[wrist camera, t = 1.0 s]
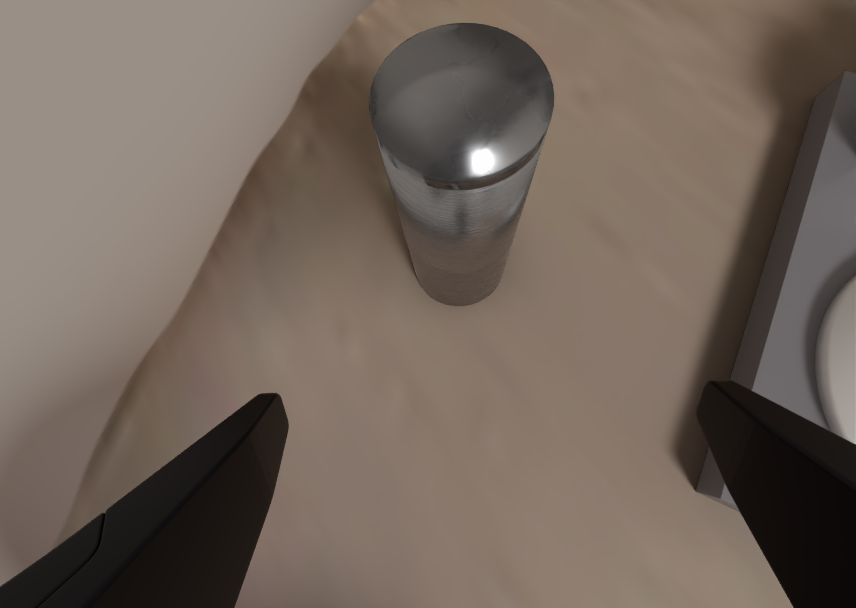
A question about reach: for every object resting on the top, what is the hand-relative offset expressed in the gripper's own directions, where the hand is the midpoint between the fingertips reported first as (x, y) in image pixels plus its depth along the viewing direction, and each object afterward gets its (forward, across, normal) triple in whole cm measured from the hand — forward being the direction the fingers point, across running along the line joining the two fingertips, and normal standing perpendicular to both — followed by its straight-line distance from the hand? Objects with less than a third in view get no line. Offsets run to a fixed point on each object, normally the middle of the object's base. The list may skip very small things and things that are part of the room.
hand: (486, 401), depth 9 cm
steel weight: (+15, 0, +4) cm, 16 cm away
